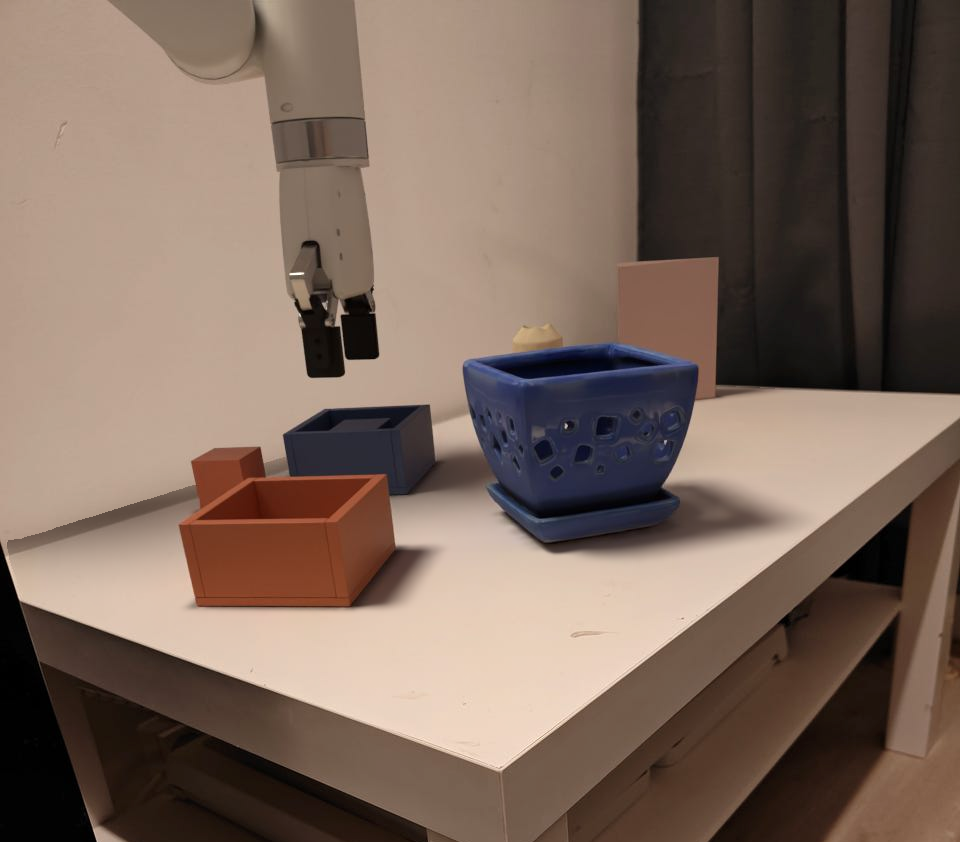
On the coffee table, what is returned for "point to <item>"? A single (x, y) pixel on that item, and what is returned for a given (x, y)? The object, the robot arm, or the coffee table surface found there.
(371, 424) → the navy block
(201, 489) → the terracotta block
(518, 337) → the candle
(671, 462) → the flower pot
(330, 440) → the navy bin
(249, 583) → the terracotta bin
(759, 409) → the coffee table surface
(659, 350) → the greeting card
